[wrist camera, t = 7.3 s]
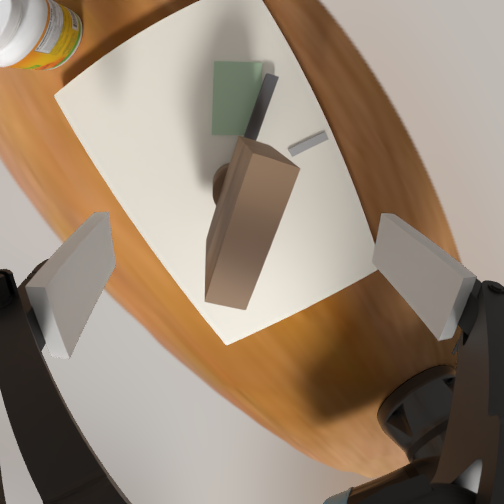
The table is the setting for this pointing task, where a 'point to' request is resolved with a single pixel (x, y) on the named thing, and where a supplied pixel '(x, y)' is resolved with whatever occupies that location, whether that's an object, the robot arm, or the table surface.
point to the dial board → (220, 154)
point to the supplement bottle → (37, 34)
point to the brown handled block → (246, 211)
